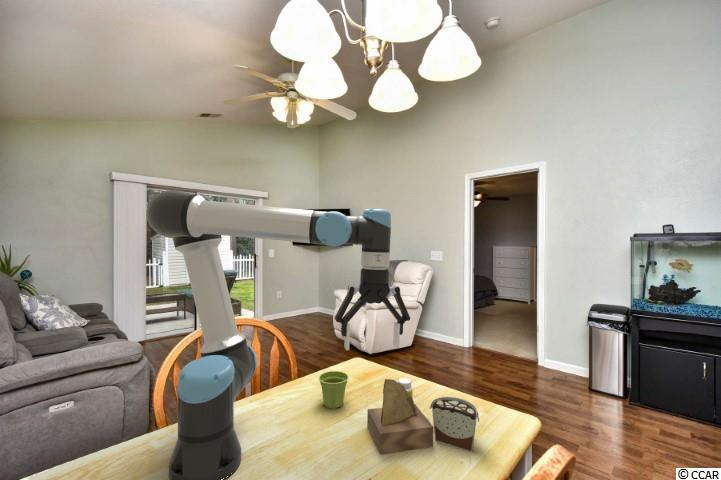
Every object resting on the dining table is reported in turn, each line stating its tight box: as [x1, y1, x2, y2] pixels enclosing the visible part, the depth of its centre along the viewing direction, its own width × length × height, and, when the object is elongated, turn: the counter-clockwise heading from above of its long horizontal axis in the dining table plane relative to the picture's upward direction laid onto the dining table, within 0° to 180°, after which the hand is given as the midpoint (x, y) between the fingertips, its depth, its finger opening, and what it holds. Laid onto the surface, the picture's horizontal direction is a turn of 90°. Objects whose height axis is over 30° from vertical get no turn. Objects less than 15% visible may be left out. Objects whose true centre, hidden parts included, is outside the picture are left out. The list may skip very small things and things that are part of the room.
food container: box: [429, 396, 480, 454], centre depth 90 cm, size 12×6×10 cm, turn 59°
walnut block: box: [366, 404, 434, 455], centre depth 91 cm, size 14×12×5 cm
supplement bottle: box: [397, 377, 413, 398], centre depth 106 cm, size 5×5×8 cm
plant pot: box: [318, 370, 350, 409], centre depth 108 cm, size 9×9×9 cm
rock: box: [381, 378, 417, 426], centre depth 91 cm, size 11×9×10 cm
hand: (371, 347), depth 92 cm, fingers open, 13 cm apart
